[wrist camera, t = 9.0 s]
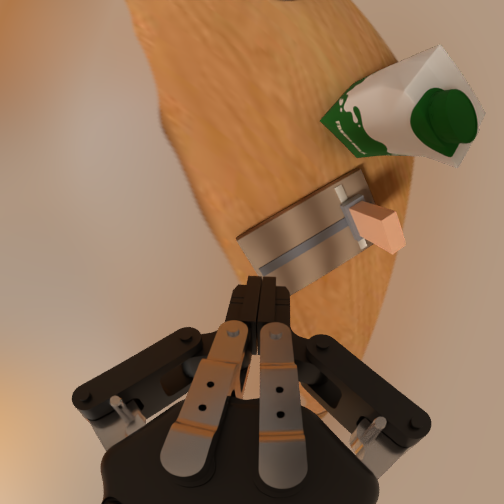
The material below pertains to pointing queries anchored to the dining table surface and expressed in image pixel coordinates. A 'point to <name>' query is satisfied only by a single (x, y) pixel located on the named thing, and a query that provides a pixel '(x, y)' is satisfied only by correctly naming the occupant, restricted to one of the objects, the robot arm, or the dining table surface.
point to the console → (307, 235)
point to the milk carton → (409, 111)
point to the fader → (373, 224)
